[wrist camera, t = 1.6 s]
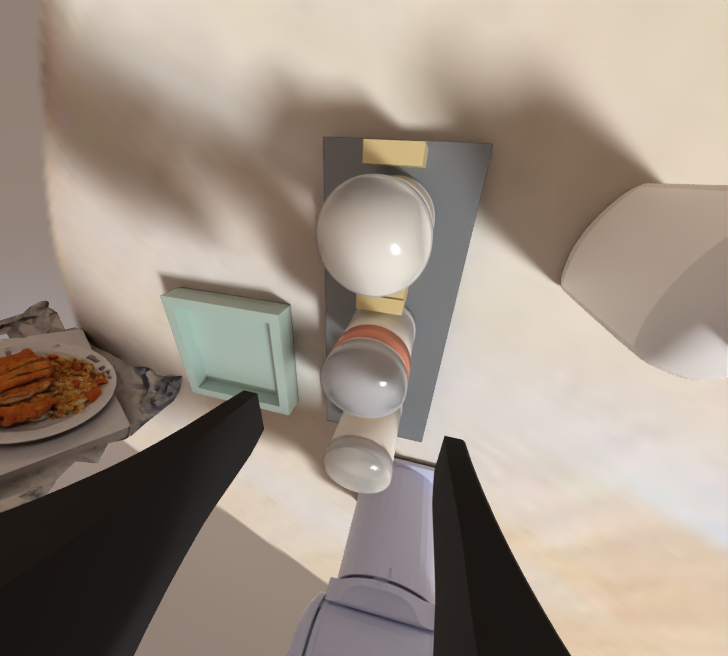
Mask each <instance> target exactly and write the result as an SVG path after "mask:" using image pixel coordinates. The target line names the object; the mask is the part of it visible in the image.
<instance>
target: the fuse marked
mask: <svg viewBox="0 0 728 656" xmlns="http://www.w3.org/2000/svg"><path fill="white" fill-rule="evenodd" d="M415 333H416V321H415V318H414V315H413V313H412V312H411V310H410V309H409V308H408V307H407V306H406V305H404V309H403V312H402V315H395V314H389V313H382V312H376V311H370V310H363V309H357V310H356V312H355V314H354V315H353V317H352V320H351V322H350V323H349V325H348V327H347V328H346V330H345V331H344V333H343V334H342V335H341V336H340V338H339V339H338V341H337V343H336V344H335V346H334V347H333V349H332V351H331V352H330V354H329V355H328V357H327V359H326V360H325V362H324V363H323V366H322V368H321V372H320V380H321V384H322V387H323V390H324V392H325V393H326V395H327V396H328V398H329V399H330V400H331V401H332V402H333V403H334V404H335V405H336V406H338V407H339V408H340V409H342V410H344V411H345V412H347V413H349V414H352V415H355V416H358V417H363V418H380V417H385V416H387V415H390V414H392V413H394V412H395V411H396V410H398V409H399V408H400V407H401V405H402V404H403V402H404V400H405V397H406V392H407V386H408V379H409V373H410V366H411V353H412V347H413V342H414V339H415Z"/></svg>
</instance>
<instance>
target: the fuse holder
mask: <svg viewBox="0 0 728 656" xmlns="http://www.w3.org/2000/svg"><path fill="white" fill-rule="evenodd" d="M492 147H493V144H490V143H465V142H441V141H417V140H392V139H368V138H344V137H323V155H324V202H325V200H326V199H327V197H328V196H329V195H330V194H331V192H332V191H333V190H334V189H335V188H336V187H338V186H339V185H340V184H342V183H343V182H345V181H347V180H349V179H351V178H353V177H356V176H359V175H365V174H383V175H402V176H407V177H410V178H412V179H415V180H416V181H418V182H419V183H420V184H422V185H423V186H424V187H425V189H426V190H427V191H428V193H429V194H430V196H431V198H432V201H433V204H434V209H435V222H434V228H433V241H432V249H431V253H430V257H429V260H428V262H427V265H426V266H425V268H424V270H423V272H422V273H421V274H420V276H419V277H418V278H417V279H416V280H415V281H414V282H413V283H412V284H411V285H410V286H408V287H407V288H405V289H404V290H402V291H400V292H398V293H396V294H392V295H389V296H384V297H368V296H363V295H359V294H356V293H354V292H352V291H350V290H348V289H346V288H345V287H343V286H342V285H340V284H339V283H338V282H337V281H336V280H335V279H334V278H333V277H332V276H331V275H330V273H329V272H328V271H327V269H326V268H325V293H326V359H327V357H328V355H329V354H330V352H331V351H332V349H333V347H334V346H335V344H336V343H337V341H338V339H339V338H340V336H341V335H342V334H343V333H344V331H345V330H346V328H347V327H348V325H349V323H350V322H351V320H352V317H353V315H354V314H355V312H356V310H357V309H363V310H370V311H376V312H382V313H389V314H395V315H402V312H403V309H404V305H406V306H407V307H408V308H409V309H410V310H411V312H412V313H413V315H414V318H415V321H416V333H415V339H414V342H413V347H412V353H411V366H410V373H409V379H408V386H407V392H406V397H405V400H404V402H403V408H402V414H401V417H400V423H399V429H398V435H397V437H401V438H405V439H409V440H414V441H418V442H422V439H423V435H424V431H425V426H426V422H427V418H428V414H429V410H430V406H431V401H432V397H433V393H434V389H435V385H436V381H437V376H438V372H439V368H440V364H441V360H442V356H443V351H444V347H445V343H446V339H447V335H448V331H449V326H450V322H451V318H452V314H453V310H454V306H455V302H456V297H457V293H458V289H459V285H460V281H461V277H462V272H463V268H464V264H465V260H466V256H467V252H468V247H469V243H470V239H471V235H472V231H473V227H474V222H475V218H476V214H477V210H478V206H479V202H480V197H481V193H482V189H483V185H484V181H485V177H486V172H487V168H488V164H489V160H490V156H491V152H492ZM343 411H344V410H342V409H340V408H339V407H338V406H336V405H335V404H334V403H333V402H332V401H331V400H330V399H329V398H328V396H327V420H328V421H333V422H337V423H339V421H340V418H341V416H342V413H343Z"/></svg>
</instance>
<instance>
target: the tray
mask: <svg viewBox="0 0 728 656" xmlns="http://www.w3.org/2000/svg"><path fill="white" fill-rule="evenodd" d="M160 297H161V300H162V303H163V306H164V309H165V312H166V315H167V318H168V321H169V324H170V327H171V330H172V333H173V336H174V338H175V341H176V344H177V347H178V350H179V353H180V356H181V359H182V362H183V365H184V368H185V371H186V374H187V377H188V380H189V383H190V386H191V389H192V392H193V393H196V394H200V395H205V396H209V397H213V398H217V399H222V400H226V401H227V400H229V399H230V398H232V397H233V396H235V395H237V394H238V393H240V392H242V391H243V390H245V391H249V392H254V393H258V399H259V404H260V409H264V410H268V411H272V412H276V413H280V414H285V415H290V414H291V412H292V411H293V409H294V407H295V406H296V404H297V403H298V401H299V400H298V388H297V376H296V364H295V352H294V340H293V328H292V316H291V305H288V304H282V303H276V302H269V301H263V300H257V299H251V298H244V297H238V296H232V295H226V294H219V293H213V292H207V291H201V290H194V289H188V288H182V287H179V288H176V289H174V290H172V291H169V292H167V293H165V294H162V295H160Z"/></svg>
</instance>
